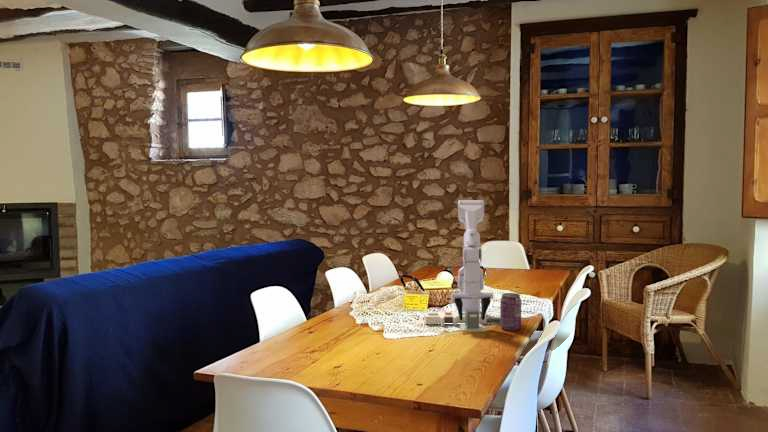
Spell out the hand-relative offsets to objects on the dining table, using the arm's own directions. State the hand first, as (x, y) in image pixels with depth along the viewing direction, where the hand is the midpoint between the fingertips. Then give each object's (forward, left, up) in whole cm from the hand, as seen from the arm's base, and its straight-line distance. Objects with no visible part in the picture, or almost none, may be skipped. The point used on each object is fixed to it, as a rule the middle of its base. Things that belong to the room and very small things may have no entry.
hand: (471, 319), depth 212 cm
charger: (-1, 0, -3) cm, 3 cm away
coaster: (0, 0, -3) cm, 3 cm away
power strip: (-8, -1, -3) cm, 9 cm away
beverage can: (+1, +13, -3) cm, 14 cm away
